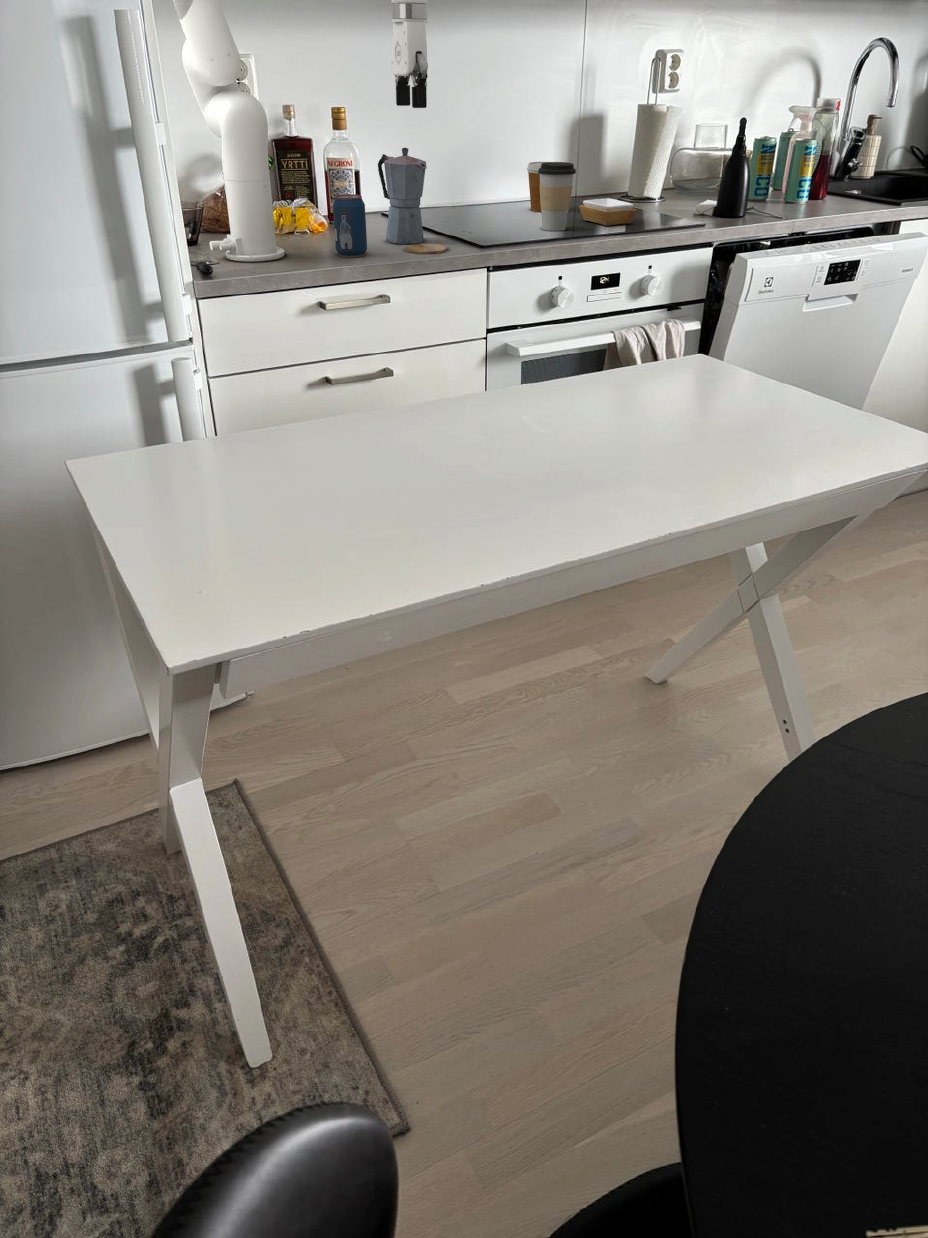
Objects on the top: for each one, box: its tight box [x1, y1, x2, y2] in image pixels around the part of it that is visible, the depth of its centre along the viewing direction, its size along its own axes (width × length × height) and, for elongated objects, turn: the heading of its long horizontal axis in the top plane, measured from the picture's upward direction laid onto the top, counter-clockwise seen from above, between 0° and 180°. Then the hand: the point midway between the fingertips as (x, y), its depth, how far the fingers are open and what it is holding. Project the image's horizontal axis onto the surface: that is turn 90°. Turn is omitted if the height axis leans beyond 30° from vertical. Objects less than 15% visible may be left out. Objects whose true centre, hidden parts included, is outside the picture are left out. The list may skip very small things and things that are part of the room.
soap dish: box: [578, 197, 638, 227], centre depth 243 cm, size 12×10×5 cm
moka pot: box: [377, 147, 428, 245], centre depth 215 cm, size 10×15×20 cm, turn 53°
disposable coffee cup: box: [526, 161, 546, 213], centre depth 259 cm, size 10×10×12 cm
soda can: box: [332, 193, 368, 258], centre depth 203 cm, size 7×7×12 cm
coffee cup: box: [538, 161, 577, 232], centre depth 232 cm, size 9×9×15 cm
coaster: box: [405, 243, 447, 255], centre depth 211 cm, size 9×9×1 cm
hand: (411, 106), depth 205 cm, fingers open, 9 cm apart
